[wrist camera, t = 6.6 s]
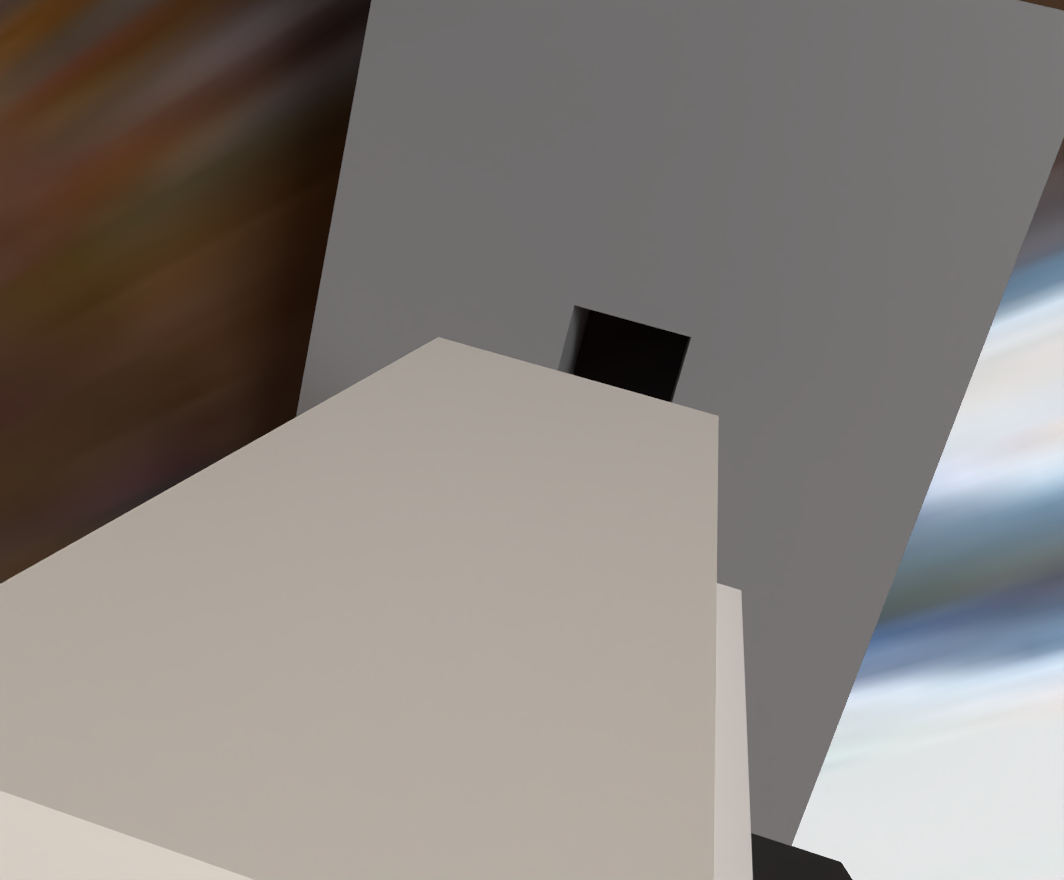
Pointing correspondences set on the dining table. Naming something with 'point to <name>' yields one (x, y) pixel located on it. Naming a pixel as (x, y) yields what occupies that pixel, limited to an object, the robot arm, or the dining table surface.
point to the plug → (384, 648)
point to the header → (716, 261)
